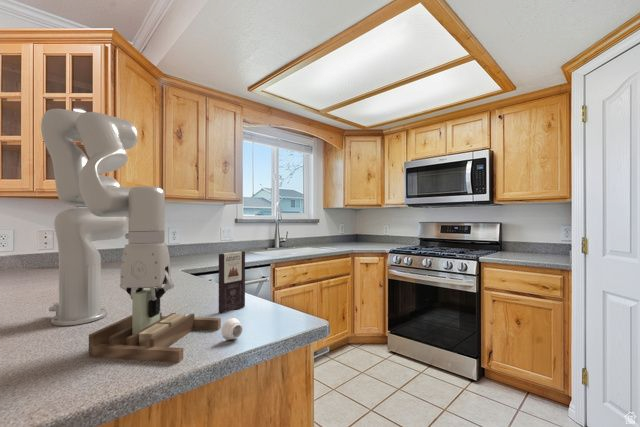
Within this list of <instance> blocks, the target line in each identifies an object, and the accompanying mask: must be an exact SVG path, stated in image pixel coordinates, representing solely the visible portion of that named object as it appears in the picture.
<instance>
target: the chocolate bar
mask: <svg viewBox="0 0 640 427" xmlns="http://www.w3.org/2000/svg"><path fill="white" fill-rule="evenodd" d="M245 307H246V251H243V250H242V251H235V252H225V253H219V254H218V314H223V313H228V312H231V311H234V310H238V309H241V308H245Z"/></svg>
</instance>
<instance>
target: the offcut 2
mask: <svg viewBox="0 0 640 427" xmlns="http://www.w3.org/2000/svg"><path fill="white" fill-rule="evenodd" d="M185 317H186V314H185V313H176V314H173V315H171V316H170V317H168V318H166V319H164V320H162V321H161V322H159V324H169V327H170V326H172V325H173V324H175V323H177V322H178V321H180V320H181V319H183V318H185Z"/></svg>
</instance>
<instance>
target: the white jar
mask: <svg viewBox="0 0 640 427" xmlns="http://www.w3.org/2000/svg"><path fill="white" fill-rule="evenodd" d="M221 328H222V329H221V335H222V338H224V340H226V341H231V340H235V339H238V338H239V337H240V336H241V335H242V333H243V325H241V322H240V320H239V319H237V318H235V317H231V318H229V319H227V320H226V321H225V322H224V324H223V326H222V327H221Z"/></svg>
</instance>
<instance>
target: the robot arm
mask: <svg viewBox="0 0 640 427" xmlns="http://www.w3.org/2000/svg"><path fill="white" fill-rule="evenodd" d="M40 130H41V136H42V140H43V143H44V145H45V148H46V149H47V152H48V153H49V155H50V158H51V161H52V168H53V174H54V181H55V182H54V183H55V189H56V194H57V197H58V200H59V201H60V203H62V204H64V205H69V206H70V205H71V206H84V208H83V207H82V208H79V207H77V208H68V209H64V210H62V211H60V212H58V213H57V214H56V216H55V218H54V221H53V224H54V225H53V226H54V231H55V236H56V237H55V238H56V242H57V246H58V248H57V249H58V302H54V303H53V305H52V306H49V307H48V311H49V312H55V316H53V317H51V320H50V321H51V324H52V325H53V326H58V327H59V326H60V327H61V326H63V327H65V326H75V325H82V324H88V323H91V322H95V321H98V320H100V319H103V318H104V317H106V316H107V314H108V310H107V309H106V308H104V307H102V301H101V300H102V294H101V293H102V292H101V290H102V257H101V254H100V253H101V252H100V251H99V250H98V249H97V247H95V246H94V244H93V243H92V242H95V241H105V240H106V241H108V240H118V239H121V238H122V237H124V238H125V239H126V240H128V242H127V243H128V244H124V248H123V251H122V257H121V262H120V263H121V264H120V272H119V273H120V275H119V278H120V279H119V282H120V283H119V288H120V289H121V290H124V291H126V293H127V294H128V295H129V296H130V299H131V300H132V301H133V294H135V293H137V292H140V291H143V290H145V289H148V288H150V294H151V300H150V301H149V302H148V316H149V317H150V318H152V317H154V316H156V315H158V314H159V312H160V313H161V298H163V296H164V294H166V293H167V292H168V291H170V290H172V289H173V288H174V287H175V284H174V282H173V280H172V277H171V272H172V271H171V260H170V258H171V257H170V253H169V248H168V244H167V243H165V241H166V240H165V237H166V236H165V234H166V233H165V232H166V231H165V221H166V220H165V219H166V218H165V212H166V210H165V207H166V206H165V202H166V201H165V199H166V198H165V197H166V196H165V195H166V194H165V191H164V189H163V188H161V187H158V186H148V185H145V186H144V185H138V186H130V187H129V186H123V185H122V186H121V184H120V183H119V181H118V180H117V179H116V178H114V177H112V176H108V175H107V176H106V175H105V174H108V173H111V172H115V171H117V170H120V169H121V168H123V167H124V166H125V165H126V164H127V162H128V158H129V156H128V153H127V151H126V150H130V149H132V148H134V147H135V146H136V144H137V142H138V138H139V136H138V130H137V127H136V126H135V125H134V124H133V123H132V122H130V121H129V120H127V119H124V118H120V117H117V116H112V115H109V114H104V113H101V112H98V111H97V112H96V111H88V112H87V111H86V112H83V113H82V112H79V111H76V110H75V111H74V110H69V109H66V108H65V109H64V108H51V109H48V110H46V111H45V112H44V113H43V115H42V118H41V123H40ZM75 142H78V143H82V145H83V147H84V150H85V152H86V154H85V152H84V151H83V150H82V149H81V148H80V147H79V146H78V145H76V144H75ZM85 206H86V208H85ZM127 231H128V233H127Z"/></svg>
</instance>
